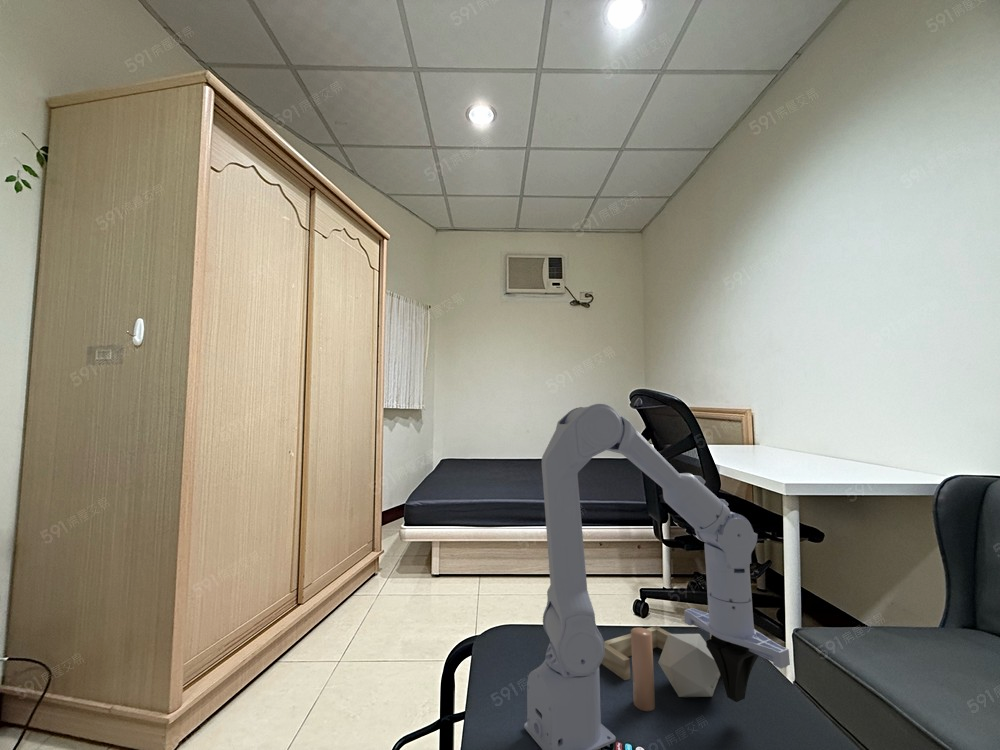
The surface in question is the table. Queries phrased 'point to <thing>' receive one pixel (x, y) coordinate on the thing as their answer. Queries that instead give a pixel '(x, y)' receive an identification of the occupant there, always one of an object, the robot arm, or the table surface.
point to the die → (689, 665)
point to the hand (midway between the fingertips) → (736, 697)
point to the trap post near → (642, 669)
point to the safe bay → (628, 651)
